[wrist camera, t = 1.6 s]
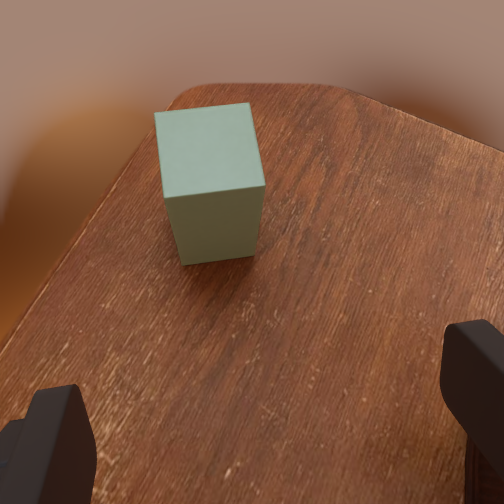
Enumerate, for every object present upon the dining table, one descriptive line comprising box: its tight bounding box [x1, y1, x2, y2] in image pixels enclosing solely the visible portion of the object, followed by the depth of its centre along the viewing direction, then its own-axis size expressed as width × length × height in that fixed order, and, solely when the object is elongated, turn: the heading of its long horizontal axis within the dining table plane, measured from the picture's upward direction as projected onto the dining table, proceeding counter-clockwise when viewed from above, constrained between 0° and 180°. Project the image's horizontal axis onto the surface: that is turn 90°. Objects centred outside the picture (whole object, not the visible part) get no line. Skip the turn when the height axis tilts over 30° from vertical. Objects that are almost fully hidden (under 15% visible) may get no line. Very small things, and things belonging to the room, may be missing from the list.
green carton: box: [154, 103, 266, 266], centre depth 28 cm, size 5×5×10 cm
